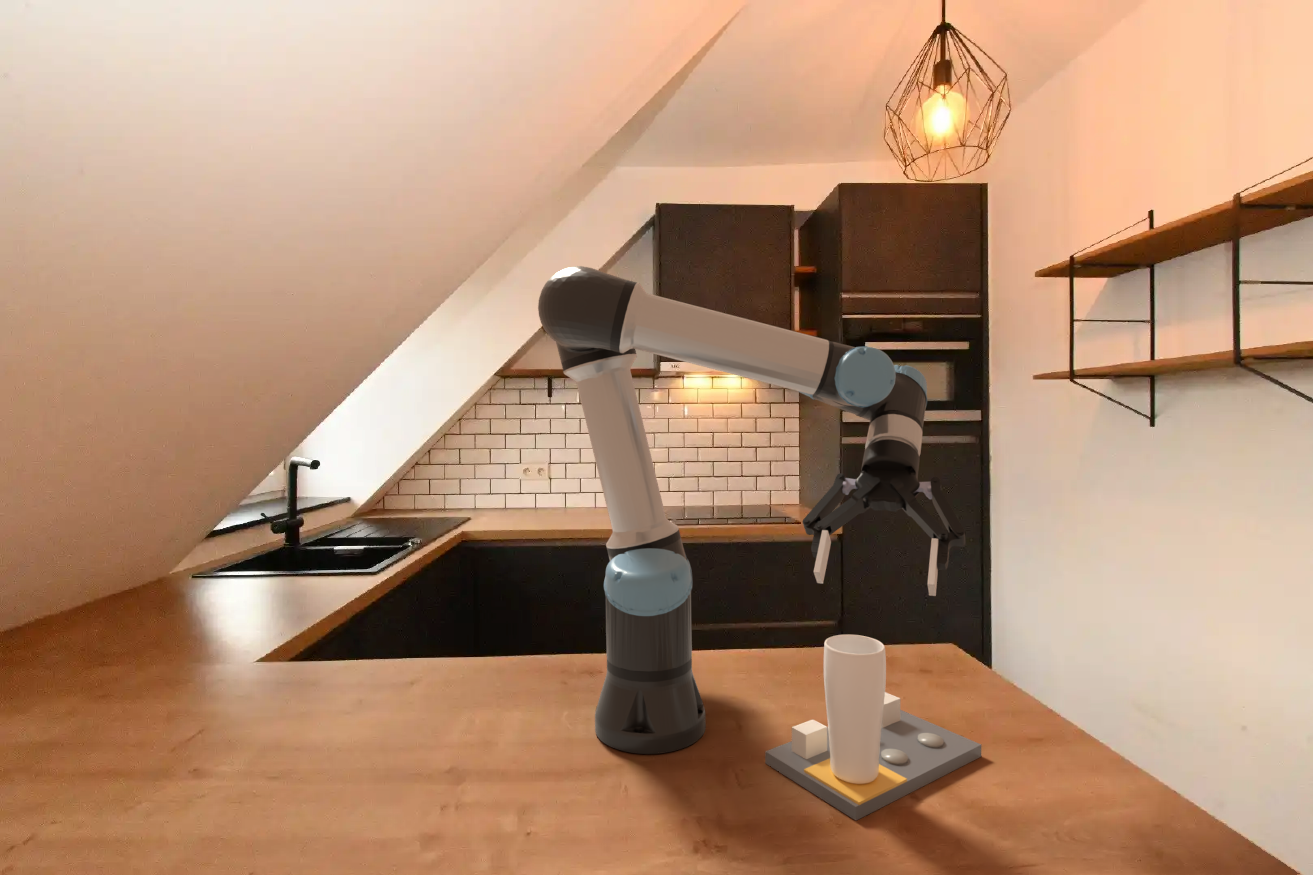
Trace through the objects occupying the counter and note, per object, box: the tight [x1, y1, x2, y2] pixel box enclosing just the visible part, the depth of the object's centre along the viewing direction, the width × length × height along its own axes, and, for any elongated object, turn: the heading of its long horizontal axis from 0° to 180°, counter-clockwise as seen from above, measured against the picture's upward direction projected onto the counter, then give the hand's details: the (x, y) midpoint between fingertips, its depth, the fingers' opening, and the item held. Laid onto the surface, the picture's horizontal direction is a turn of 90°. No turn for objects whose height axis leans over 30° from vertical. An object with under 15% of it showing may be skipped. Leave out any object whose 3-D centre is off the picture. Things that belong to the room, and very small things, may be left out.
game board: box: [764, 691, 982, 821], centre depth 84 cm, size 14×23×4 cm, turn 123°
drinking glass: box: [823, 634, 887, 784], centre depth 77 cm, size 7×7×15 cm
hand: (872, 583), depth 84 cm, fingers open, 13 cm apart
